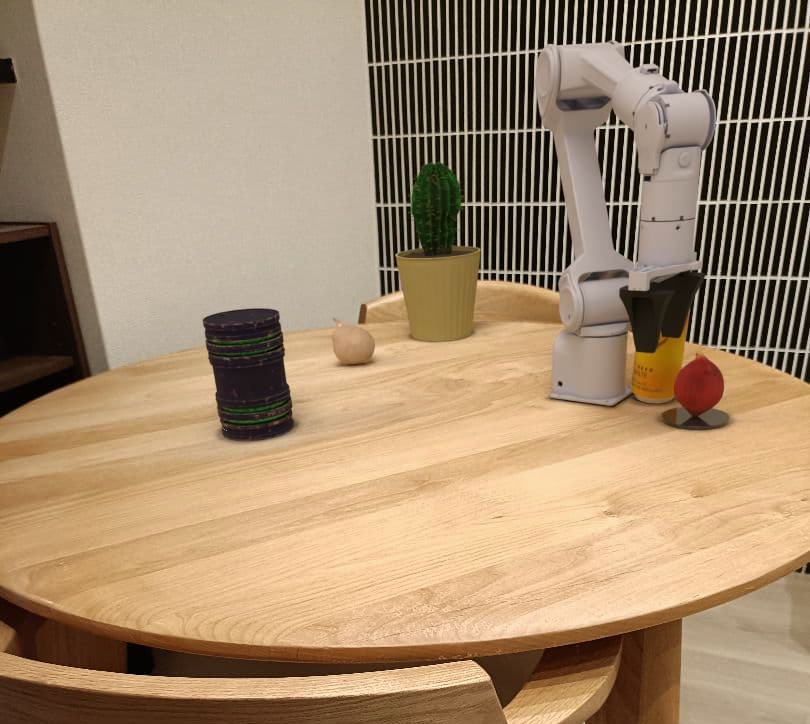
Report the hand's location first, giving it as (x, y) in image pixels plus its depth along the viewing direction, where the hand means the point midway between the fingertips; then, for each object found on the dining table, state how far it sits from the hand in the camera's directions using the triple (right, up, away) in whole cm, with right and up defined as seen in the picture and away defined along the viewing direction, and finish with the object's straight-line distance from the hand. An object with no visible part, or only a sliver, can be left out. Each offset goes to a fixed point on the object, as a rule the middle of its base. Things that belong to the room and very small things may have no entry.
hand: (658, 344), depth 95 cm
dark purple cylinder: (-49, -8, +15) cm, 52 cm away
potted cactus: (-23, +16, +59) cm, 65 cm away
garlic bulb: (-38, +7, +43) cm, 58 cm away
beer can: (+4, -3, +16) cm, 16 cm away
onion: (+7, -7, +7) cm, 12 cm away
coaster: (+7, -8, +7) cm, 12 cm away
